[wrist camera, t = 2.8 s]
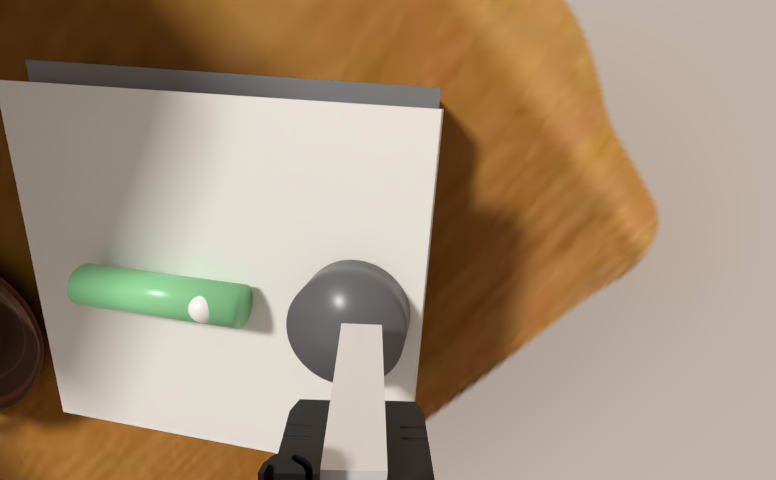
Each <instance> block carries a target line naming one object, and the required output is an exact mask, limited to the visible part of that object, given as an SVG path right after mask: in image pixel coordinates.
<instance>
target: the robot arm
mask: <svg viewBox="0 0 776 480" xmlns="http://www.w3.org/2000/svg"><path fill="white" fill-rule="evenodd" d="M258 480H434V474H433V468H432V462H431V456H430V449H429V443H428V437H427V431H426V425H425V418H424V413H423V412H422V410H421V409H420V408H419V406H418V405H417V403H416V402H414V401H385V391H384V365H383V340H382V325H374V324H348V323H341V329H340V336H339V343H338V350H337V357H336V364H335V371H334V378H333V385H332V392H331V398H330V400H310V399H299V401H298V402H297V403H296V404H295V405H294V406H293V407H292V409H291V410H290V411H289V415H288V419H287V422H286V427H285V430H284V433H283V439H282V441H281V444H280V448H279V452H278V454H276V455H273V456H271V457H270V458H269V459H268V460H267V461H266V462H264V463H263V465H262V466H261V468H260V470H259V472H258Z"/></svg>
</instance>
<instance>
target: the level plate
mask: <svg viewBox="0 0 776 480" xmlns="http://www.w3.org/2000/svg"><path fill="white" fill-rule="evenodd" d="M0 108H1V113H2V118H3V122H4V127H5V132H6V137H7V142H8V147H9V152H10V156H11V161H12V166H13V171H14V176H15V181H16V185H17V190H18V195H19V200H20V205H21V210H22V214H23V219H24V224H25V229H26V234H27V239H28V243H29V248H30V253H31V258H32V263H33V268H34V273H35V277H36V282H37V287H38V292H39V297H40V302H41V306H42V311H43V316H44V321H45V326H46V331H47V335H48V340H49V345H50V350H51V355H52V360H53V364H54V369H55V374H56V379H57V384H58V389H59V393H60V398H61V403H62V408H63V412H67V413H72V414H77V415H82V416H87V417H92V418H98V419H103V420H108V421H113V422H118V423H123V424H129V425H134V426H139V427H144V428H149V429H154V430H159V431H165V432H170V433H175V434H180V435H185V436H190V437H196V438H201V439H206V440H211V441H216V442H221V443H226V444H232V445H237V446H242V447H247V448H252V449H257V450H263V451H268V452H273V453H278V452H279V448H280V444H281V441H282V439H283V433H284V430H285V427H286V422H287V419H288V415H289V411H290V410H291V409H292V407H293V406H294V405H295V404H296V403H297V402H298V401H299V399H310V400H330V398H331V392H332V385H333V378H334V371H335V364H336V357H337V350H338V343H339V336H340V329H341V323H348V324H374V325H382V340H383V365H384V391H385V401H414V402H415V397H416V386H417V376H418V366H419V356H420V346H421V335H422V325H423V315H424V305H425V295H426V285H427V274H428V264H429V254H430V244H431V234H432V224H433V213H434V203H435V193H436V183H437V173H438V163H439V152H440V142H441V132H442V122H443V112H444V109H432V108H417V107H402V106H387V105H372V104H357V103H342V102H327V101H312V100H297V99H281V98H266V97H251V96H236V95H221V94H206V93H191V92H176V91H161V90H146V89H131V88H116V87H101V86H86V85H71V84H56V83H40V82H25V81H9V80H0Z"/></svg>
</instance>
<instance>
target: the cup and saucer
mask: <svg viewBox="0 0 776 480" xmlns="http://www.w3.org/2000/svg"><path fill="white" fill-rule="evenodd" d="M43 359H44V343H43V337H42V333H41V330H40V327H39V324H38V322H37V320H36V318H35V316H34V314H33V312H32V310H31V309H30V307H29V306H28V304H27V303H26V301H25V300H24V299H23V298H22V297H21V295H20V294H19V293H18V292H17V291H16V290H15V289H14V288H13V287H12V286H11V285H10V284H9V283H7V282H6V281H5V280H4V279H2V278H1V277H0V410H2V409H4V408H6V407H8V406H10V405H12V404H14V403H15V402H17V401H18V400H19V399H20V398H22V397H23V396H24V395H25V394H26V393H27V392H28V391H29V389H30V388H31V387H32V385H33V384H34V383H35V381H36V379H37V377H38V376H39V373H40V371H41V368H42V364H43Z"/></svg>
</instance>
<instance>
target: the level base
mask: <svg viewBox="0 0 776 480" xmlns="http://www.w3.org/2000/svg"><path fill="white" fill-rule="evenodd" d="M25 62H26V67H27V72H28V78H29V82H40V83H56V84H71V85H86V86H101V87H116V88H131V89H146V90H161V91H176V92H191V93H206V94H221V95H236V96H251V97H266V98H281V99H297V100H312V101H327V102H342V103H357V104H372V105H387V106H402V107H417V108H432V109H439V104H440V94H441V88H436V87H421V86H406V85H392V84H377V83H363V82H348V81H333V80H319V79H304V78H290V77H275V76H260V75H246V74H231V73H216V72H202V71H187V70H173V69H158V68H143V67H129V66H114V65H100V64H85V63H70V62H56V61H41V60H27V59H25Z"/></svg>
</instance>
